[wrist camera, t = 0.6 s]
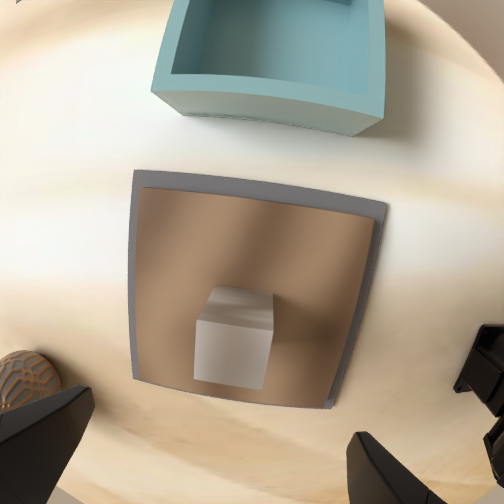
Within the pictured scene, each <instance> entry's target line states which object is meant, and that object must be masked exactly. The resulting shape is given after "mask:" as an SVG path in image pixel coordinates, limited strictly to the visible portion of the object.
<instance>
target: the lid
mask: <svg viewBox="0 0 504 504" xmlns="http://www.w3.org/2000/svg"><path fill="white" fill-rule="evenodd" d="M373 224H374V219H373V218H370V217H366V216H361V215H355V214H350V213H344V212H338V211H333V210H327V209H320V208H314V207H308V206H302V205H295V204H288V203H282V202H275V201H267V200H260V199H253V198H245V197H237V196H229V195H220V194H212V193H203V192H193V191H183V190H173V189H162V188H150V187H140V191H139V203H138V216H137V233H136V258H135V315H136V340H137V356H138V369H139V380H143V381H147V382H150V383H154V384H158V385H162V386H167V387H171V388H175V389H180V390H184V391H189V392H194V393H199V394H204V395H210V396H215V397H221V398H227V399H234V400H241V401H248V402H256V403H264V404H274V405H284V406H297V407H313V408H324V406H325V403H326V400H327V398H328V395H329V392H330V389H331V386H332V384H333V381H334V378H335V375H336V372H337V369H338V366H339V362H340V359H341V356H342V353H343V350H344V346H345V343H346V340H347V336H348V333H349V329H350V326H351V322H352V318H353V315H354V311H355V307H356V303H357V299H358V295H359V291H360V287H361V283H362V279H363V274H364V270H365V265H366V260H367V256H368V251H369V246H370V241H371V235H372V230H373Z"/></svg>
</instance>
